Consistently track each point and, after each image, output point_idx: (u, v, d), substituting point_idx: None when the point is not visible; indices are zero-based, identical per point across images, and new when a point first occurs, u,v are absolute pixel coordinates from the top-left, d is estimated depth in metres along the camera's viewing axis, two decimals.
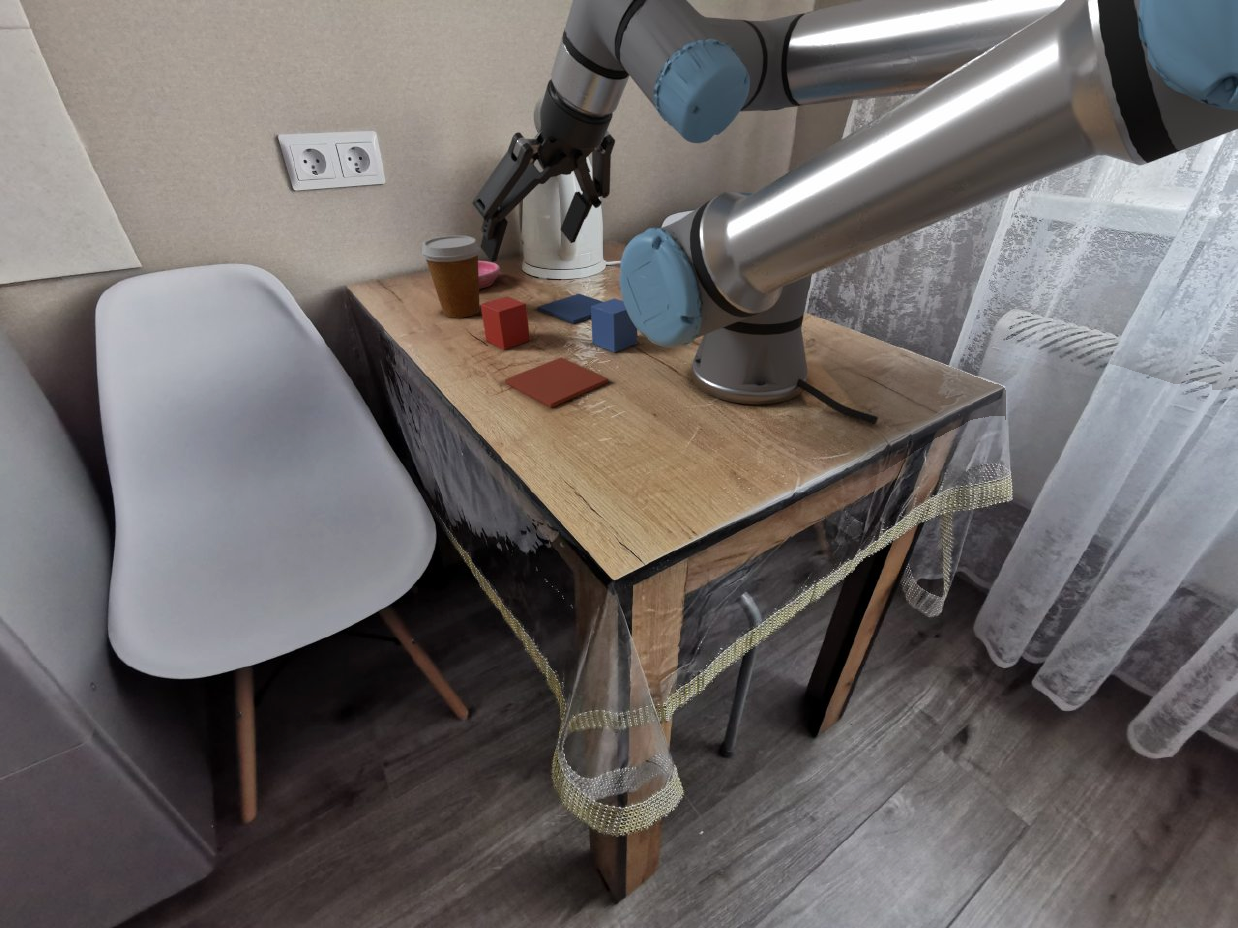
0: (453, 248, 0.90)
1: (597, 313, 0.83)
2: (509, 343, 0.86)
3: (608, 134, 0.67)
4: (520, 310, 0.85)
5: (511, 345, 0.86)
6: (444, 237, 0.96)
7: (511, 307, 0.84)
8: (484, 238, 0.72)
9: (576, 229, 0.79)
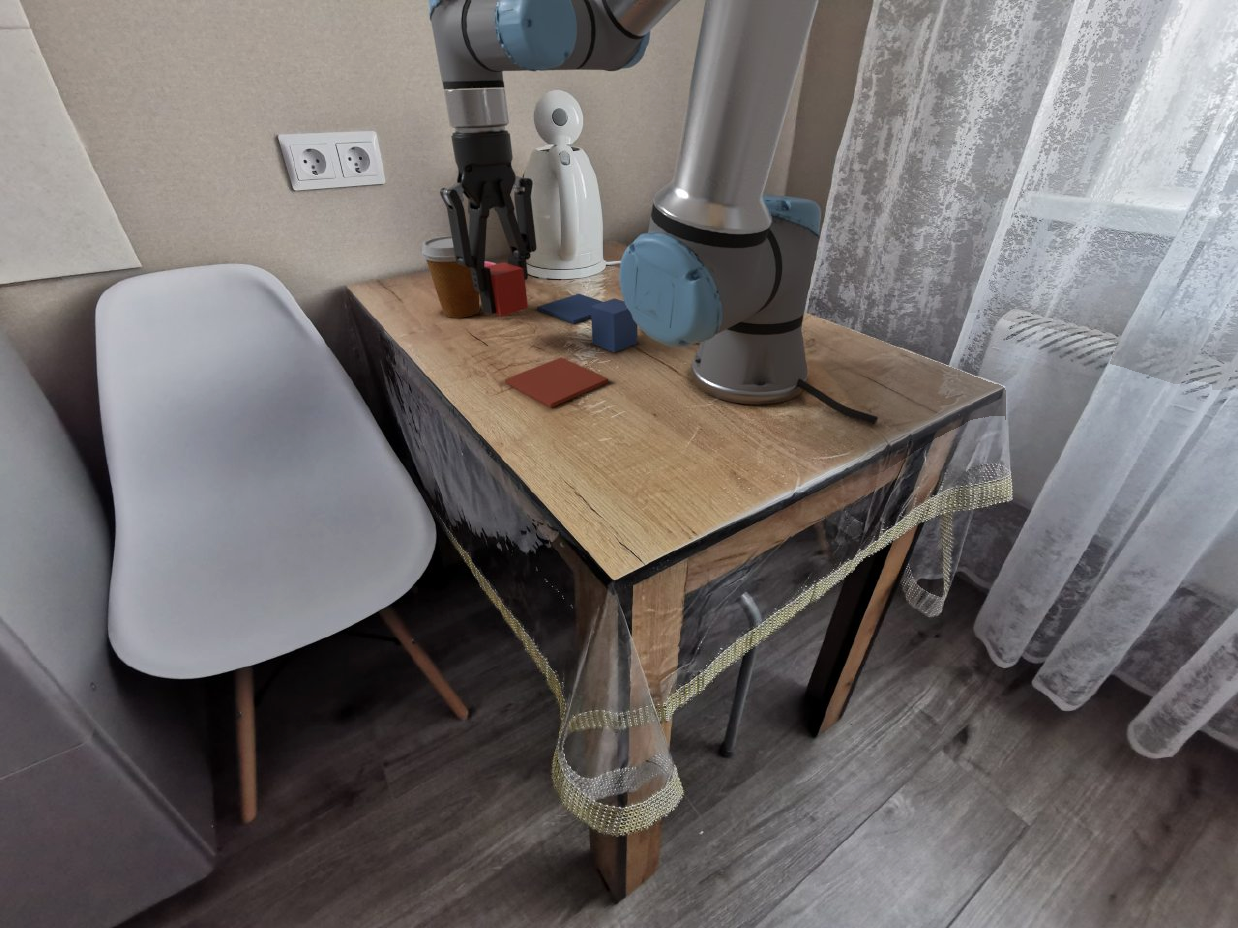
0: (453, 248, 0.90)
1: (597, 313, 0.83)
2: (506, 309, 0.83)
3: (526, 178, 0.79)
4: (517, 275, 0.82)
5: (508, 312, 0.83)
6: (444, 237, 0.96)
7: (508, 271, 0.81)
8: (481, 299, 0.83)
9: None
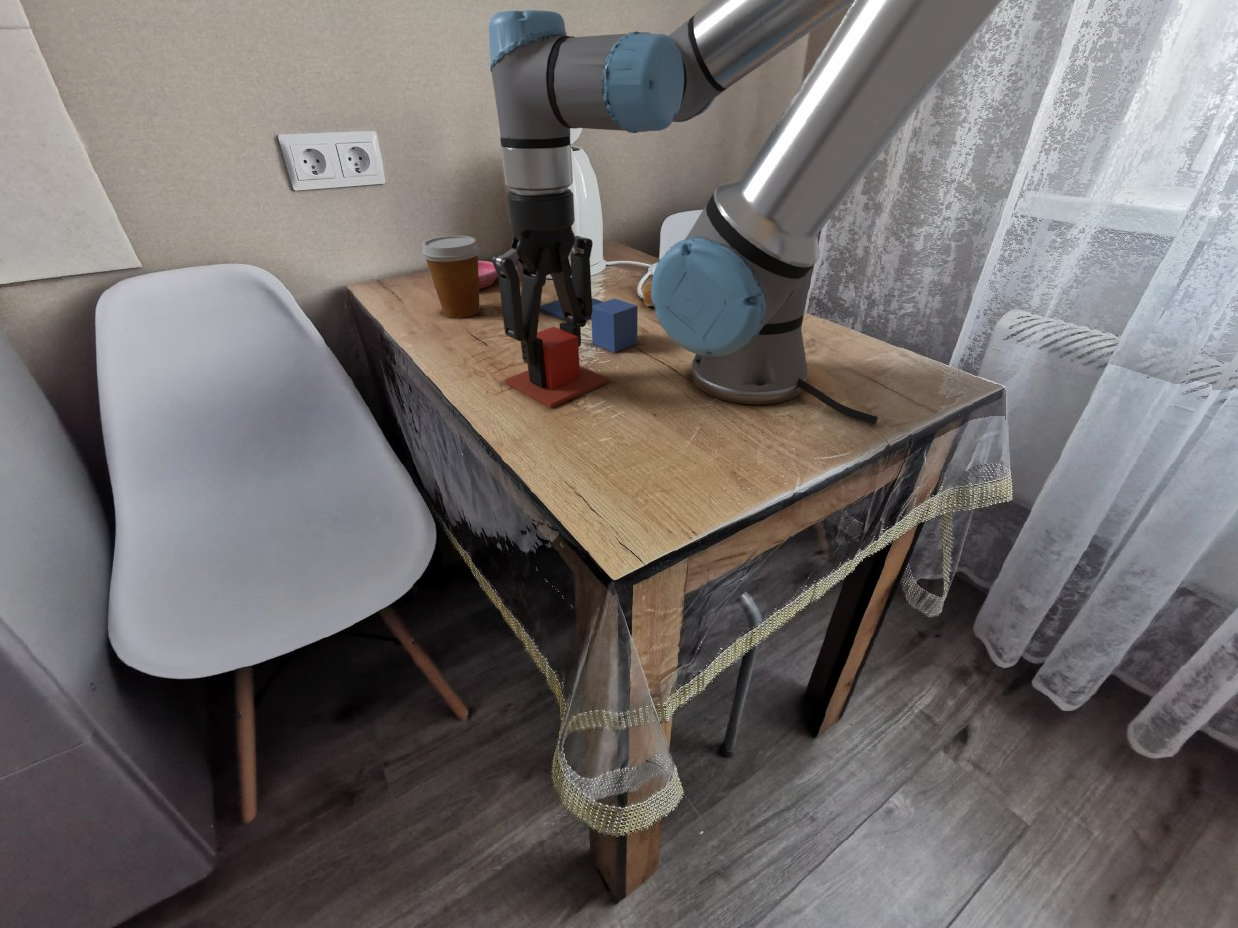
0: (453, 248, 0.90)
1: (597, 313, 0.83)
2: (557, 382, 0.73)
3: (585, 238, 0.69)
4: (571, 344, 0.72)
5: (559, 384, 0.74)
6: (444, 237, 0.96)
7: (561, 341, 0.71)
8: (530, 370, 0.74)
9: None
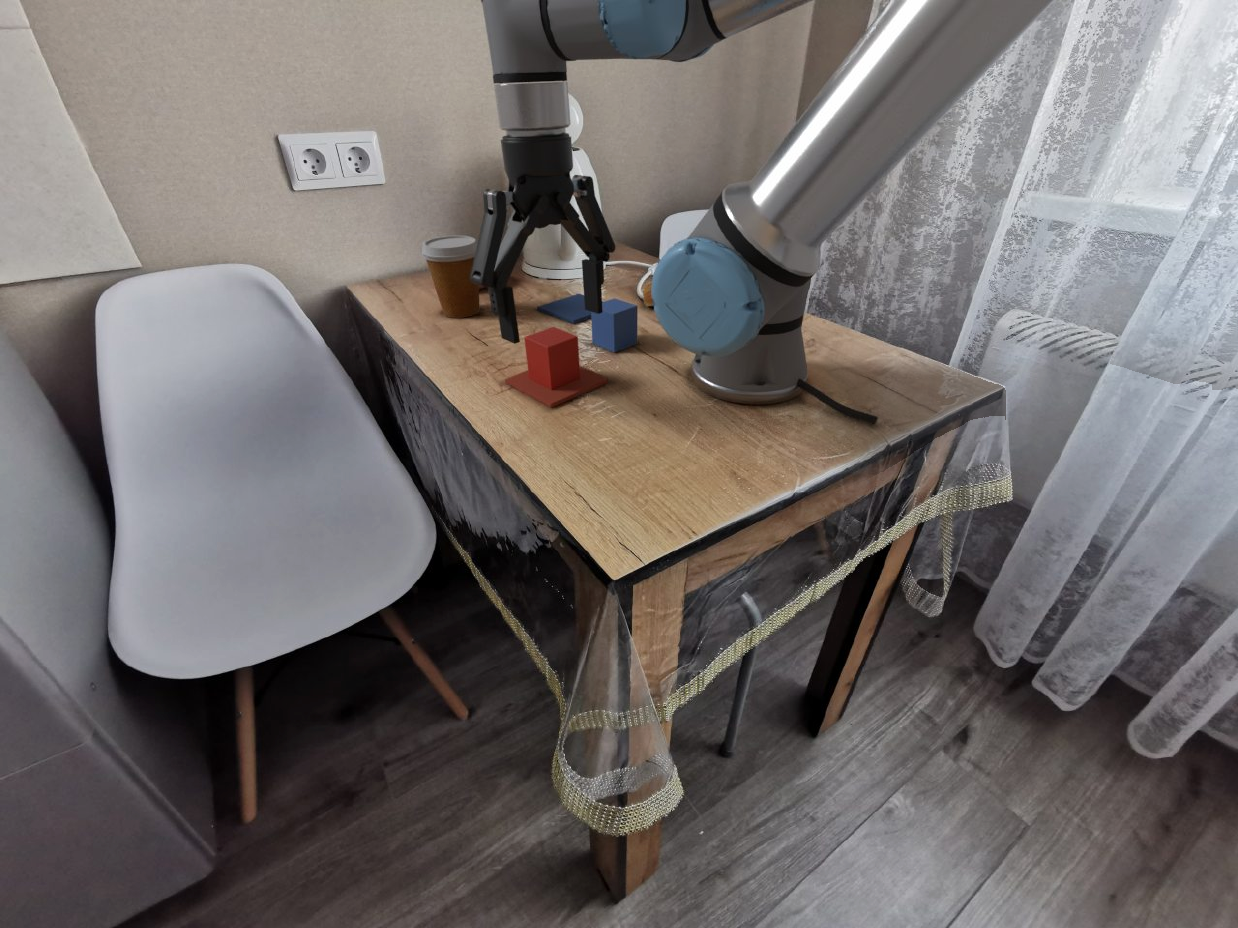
0: (453, 248, 0.90)
1: None
2: (557, 382, 0.73)
3: (583, 176, 0.65)
4: (571, 344, 0.72)
5: (559, 384, 0.74)
6: (444, 237, 0.96)
7: (561, 341, 0.71)
8: (501, 324, 0.67)
9: (597, 295, 0.73)
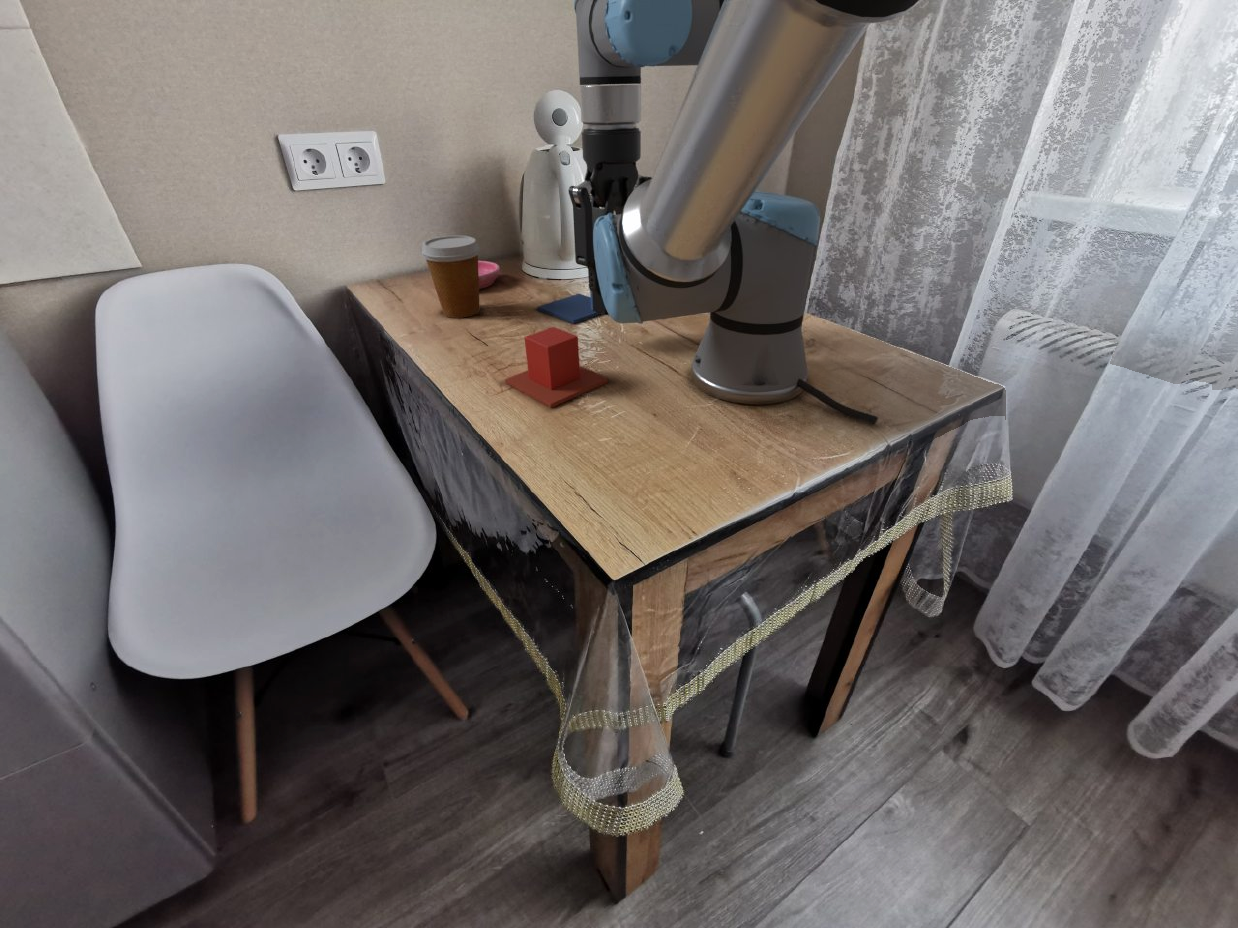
0: (453, 248, 0.90)
1: None
2: (557, 382, 0.73)
3: None
4: (571, 344, 0.72)
5: (559, 384, 0.74)
6: (444, 237, 0.96)
7: (561, 341, 0.71)
8: (594, 299, 0.81)
9: None
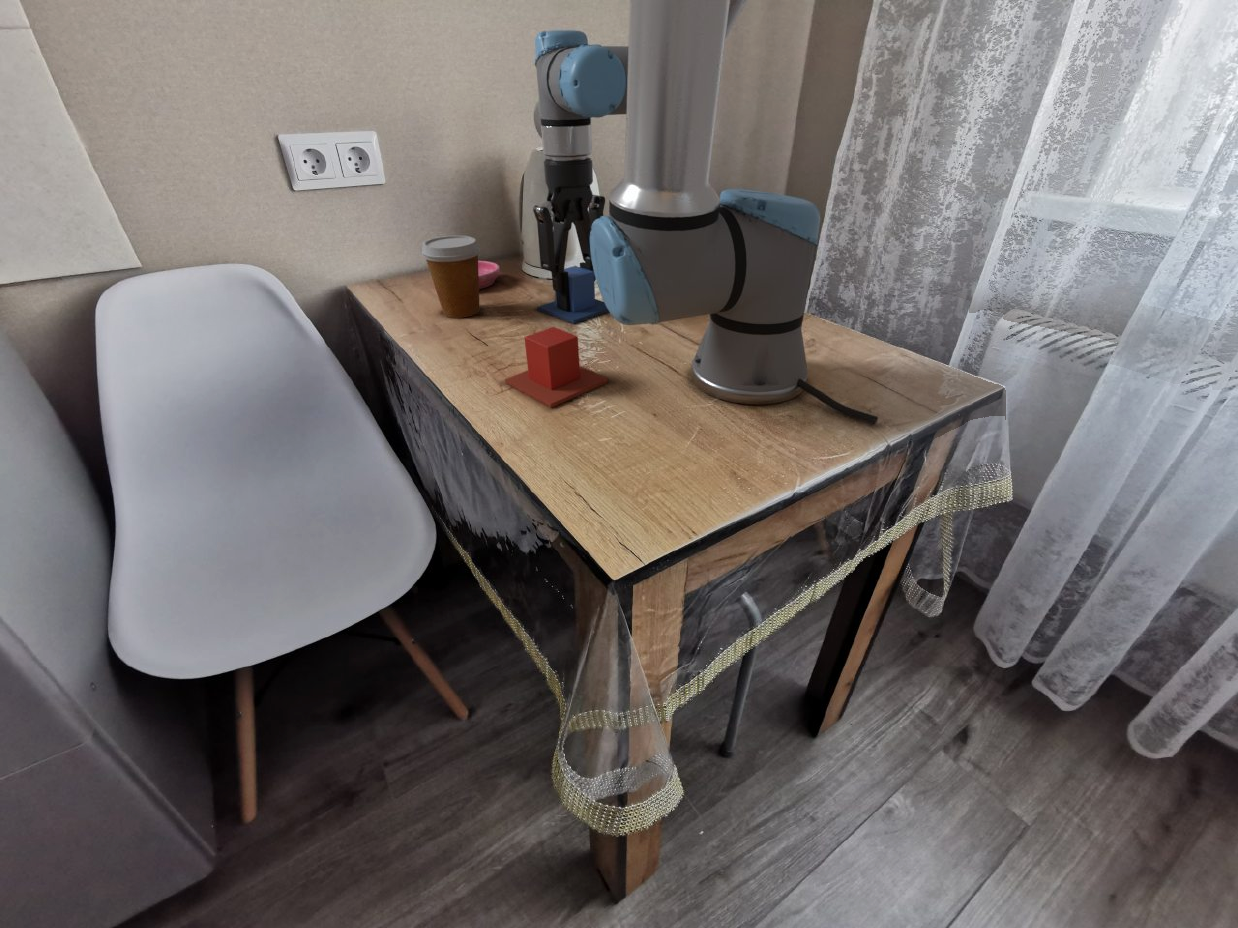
0: (453, 248, 0.90)
1: None
2: (557, 382, 0.73)
3: (599, 196, 0.93)
4: (571, 344, 0.72)
5: (559, 384, 0.74)
6: (444, 237, 0.96)
7: (561, 341, 0.71)
8: (557, 297, 0.97)
9: None
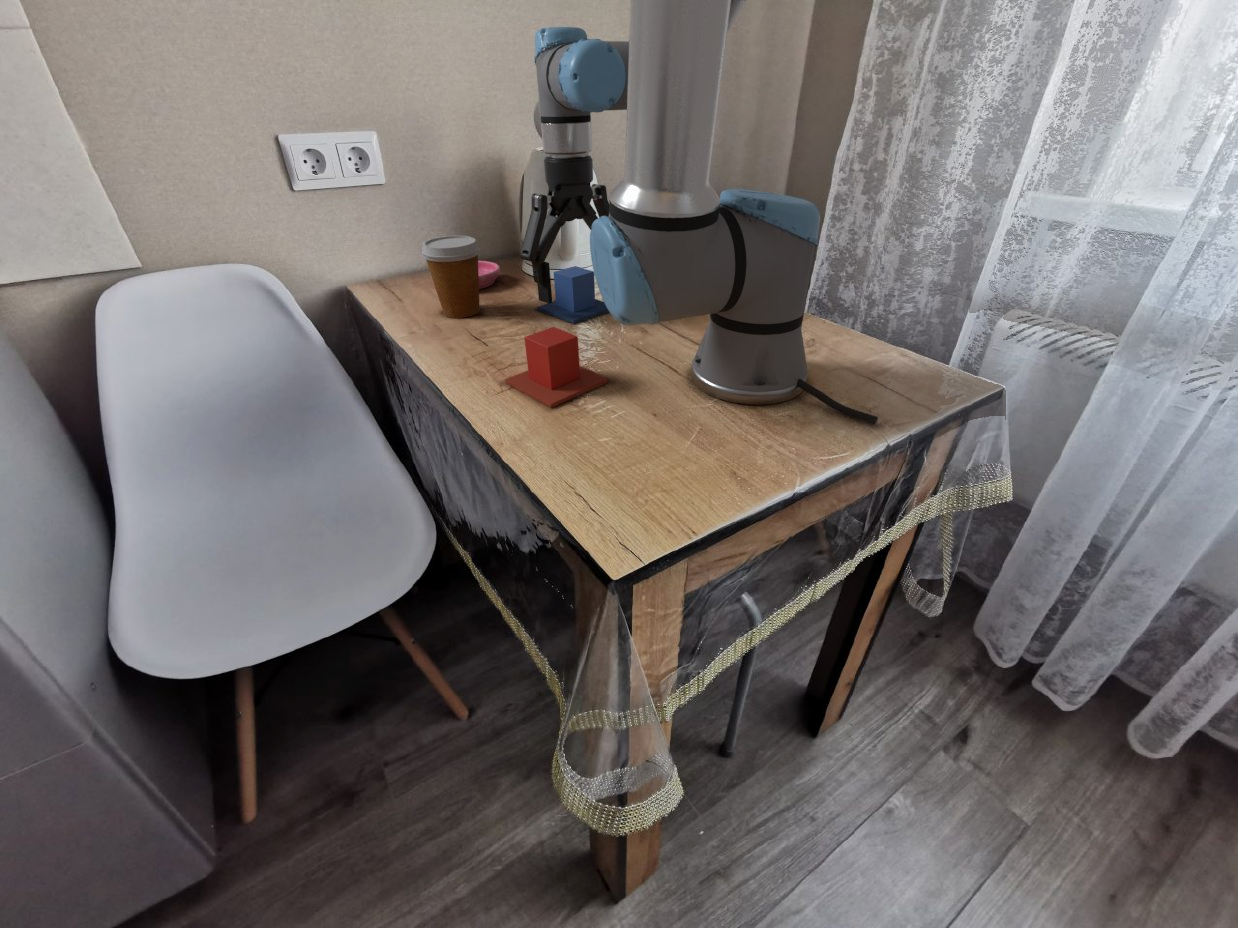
0: (453, 248, 0.90)
1: (559, 278, 0.96)
2: (557, 382, 0.73)
3: (599, 185, 0.92)
4: (571, 344, 0.72)
5: (559, 384, 0.74)
6: (444, 237, 0.96)
7: (561, 341, 0.71)
8: (539, 290, 0.93)
9: None
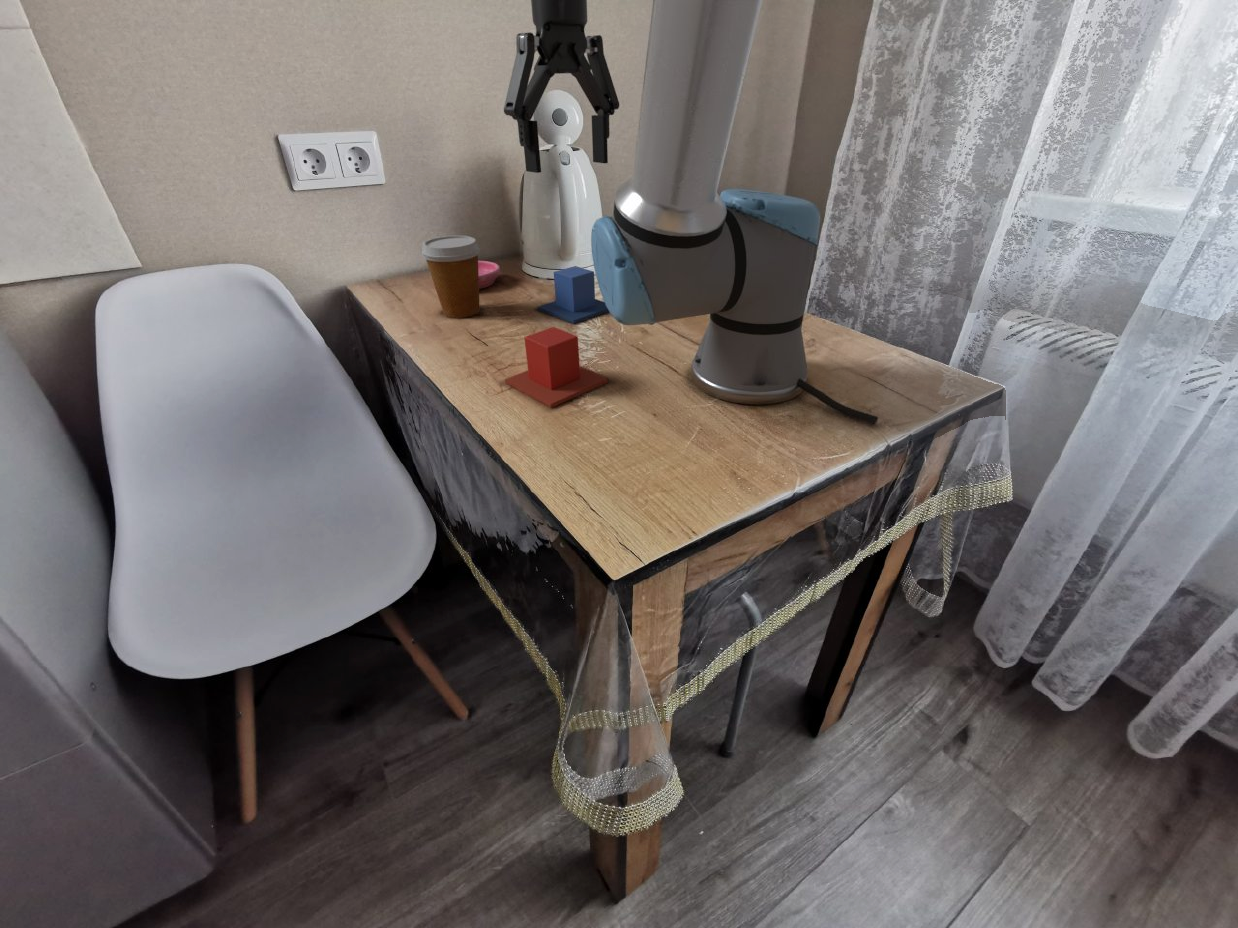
0: (453, 248, 0.90)
1: (559, 278, 0.96)
2: (557, 382, 0.73)
3: (594, 35, 0.81)
4: (571, 344, 0.72)
5: (559, 384, 0.74)
6: (444, 237, 0.96)
7: (561, 341, 0.71)
8: (526, 158, 0.82)
9: (603, 146, 0.89)
